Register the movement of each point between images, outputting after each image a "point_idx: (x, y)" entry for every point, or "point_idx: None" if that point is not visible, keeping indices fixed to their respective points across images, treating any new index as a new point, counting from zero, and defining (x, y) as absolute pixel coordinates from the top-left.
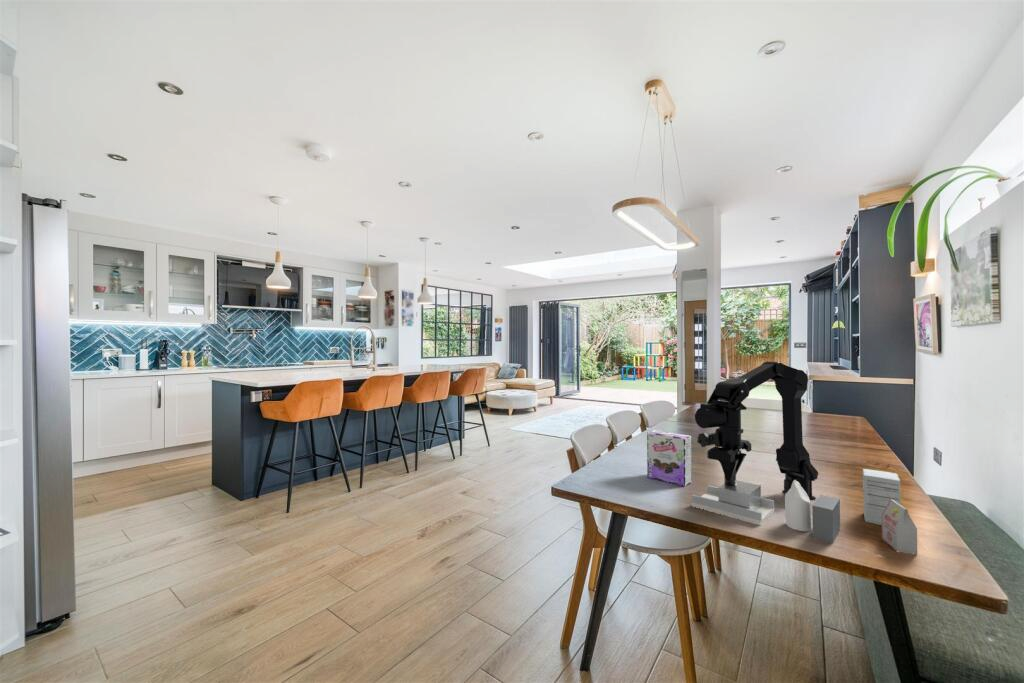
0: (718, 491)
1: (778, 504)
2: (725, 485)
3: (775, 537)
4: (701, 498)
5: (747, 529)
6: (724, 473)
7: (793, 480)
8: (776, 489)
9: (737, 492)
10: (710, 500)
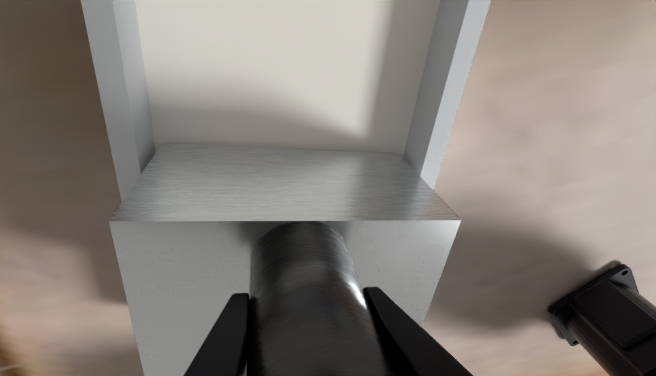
0: (125, 198)
1: (468, 287)
2: (234, 246)
3: (89, 366)
4: (85, 20)
5: (62, 292)
6: (193, 363)
7: (630, 364)
8: (652, 240)
9: (140, 344)
10: (102, 107)
